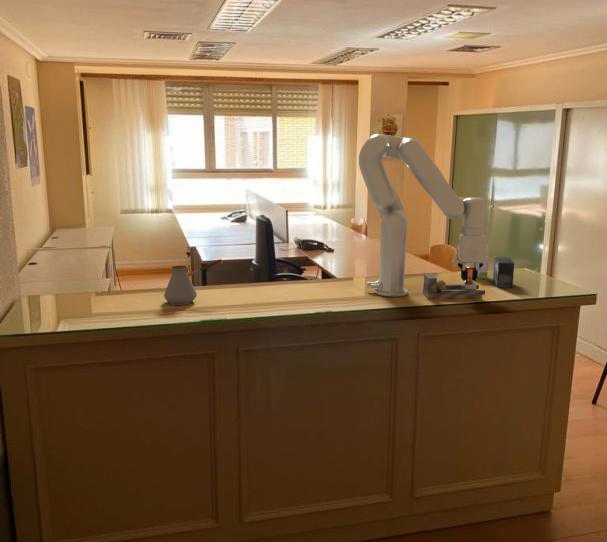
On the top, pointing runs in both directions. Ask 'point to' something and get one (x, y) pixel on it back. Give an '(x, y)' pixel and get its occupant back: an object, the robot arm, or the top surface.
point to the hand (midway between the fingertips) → (468, 279)
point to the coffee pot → (182, 285)
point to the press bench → (448, 291)
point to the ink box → (483, 270)
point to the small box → (503, 272)
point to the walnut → (440, 285)
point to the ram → (468, 280)
